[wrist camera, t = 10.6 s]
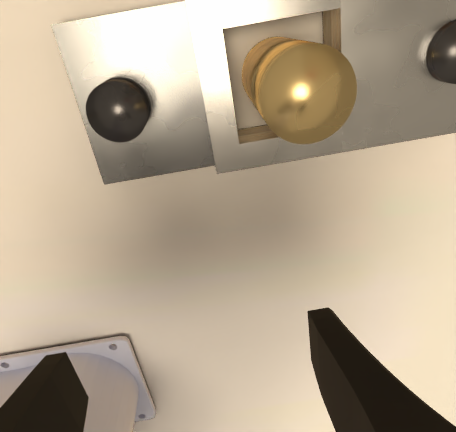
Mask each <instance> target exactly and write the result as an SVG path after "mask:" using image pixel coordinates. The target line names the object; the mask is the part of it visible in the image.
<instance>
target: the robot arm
mask: <svg viewBox="0 0 456 432" xmlns="http://www.w3.org/2000/svg"><path fill="white" fill-rule="evenodd" d="M308 323H309V336H310V349H311V361H312V364H313V368H314V371H315V375H316V379H317V382H318V385H319V389H320V392H321V395H322V398H323V401H324V403H325V406H326V408H327V411H328V413H329V416H330V418H331V421H332V423H333V426H334V428H335V431H336V432H456V427H455V426H454V425H453V424H451V423H450V422H449V421H447V420H446V419H445V418H444V417H442V416H441V415H440V414H439V413H437V412H436V411H435V410H433V409H432V408H431V407H430V406H428V405H427V404H426V403H425V402H424V401H422V400H421V399H420V398H419V397H418V396H416V395H415V394H414V393H413V392H412V391H411V390H409V389H408V388H407V387H406V386H405V385H404V384H403V383H402V382H401V381H399V380H398V379H397V378H396V377H395V376H394V375H393V374H392V373H391V372H390V371H389V370H387V369H386V368H385V367H384V366H383V365H382V364H381V363H380V362H379V361H378V360H377V359H376V358H375V357H374V356H373V355H372V354H371V353H370V352H369V351H368V350H367V349H366V348H365V347H364V346H363V345H362V344H361V343H360V342H359V341H358V339H357V338H356V337H355V336H354V335H353V334H352V333H351V332H350V331H349V330H348V328H347V327H346V326H345V325H344V324H343V323H342V322H341V320H340V319H339V318H338V317H337V316H336V314H335V313H334V312H333V311H332V310H331V309H330V308H323V309H317V310H311V311H308ZM112 344H115V345H112ZM5 362H6V363H5ZM155 415H156V409H155V406H154V403H153V401H152V398H151V396H150V393H149V390H148V388H147V385H146V382H145V380H144V377H143V375H142V372H141V369H140V367H139V364H138V361H137V359H136V356H135V354H134V351H133V348H132V346H131V343H130V340H129V339H128V338H127V337H125V336H116V337H110V338H105V339H99V340H93V341H87V342H81V343H75V344H69V345H63V346H57V347H51V348H46V349H40V350H34V351H28V352H22V353H16V354H10V355H4V356H0V432H133V427H134V422H136V421H142V420H148V419H152V418H154V417H155Z"/></svg>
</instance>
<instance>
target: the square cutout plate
mask: <svg viewBox="0 0 456 432" xmlns="http://www.w3.org/2000/svg"><path fill="white" fill-rule="evenodd" d="M321 11H322V14H323V43H324V44H325V45H328V46H331V47H333V48H335V49H337V50H338V51H339V52H341V53H342V54H343V55H344V56H345V57H346V58H347V59H348V61H349V62H350V64H351V66H352V68H353V70H354V73H355V76H356V81H357V95H356V100H355V104H354V107H353V110H352V112H351V114H350V116H349V117H348V119H347V120H346V122H345V123H344V124H343V126H342V127H341V128H340V129H339V130H338V131H336V132H335V133H334V134H333V135H331V136H330V137H328V138H326V139H324V140H322V141H319V142H316V143H312V144H296V143H291V142H288V141H286V140H284V139H282V138H280V137H279V136H277V135H276V134H275V133H274V132H273V131H272V130H271V129H270V128H269V126H268V125H262V126H256V127H251V128H245V129H239V130H237V125H236V118H235V111H234V105H233V98H232V91H231V84H230V77H229V71H228V64H227V57H226V50H225V43H224V36H223V30H222V29H225V28H231V27H236V26H242V25H248V24H253V23H259V22H265V21H270V20H276V19H281V18H287V17H293V16H298V15H304V14H310V13H315V12H321ZM51 27H52V30H53V33H54V36H55V39H56V42H57V45H58V48H59V51H60V54H61V57H62V60H63V63H64V66H65V69H66V72H67V75H68V78H69V81H70V84H71V87H72V90H73V93H74V96H75V99H76V102H77V104H78V107H79V110H80V113H81V116H82V119H83V122H84V125H85V128H86V131H87V134H88V137H89V140H90V143H91V146H92V149H93V152H94V155H95V158H96V161H97V164H98V167H99V170H100V173H101V176H102V179H103V182H104V184H110V183H116V182H121V181H127V180H133V179H139V178H145V177H150V176H156V175H162V174H168V173H173V172H179V171H185V170H191V169H196V168H202V167H208V166H214V165H216V171H217V174H220V173H225V172H231V171H237V170H243V169H248V168H254V167H260V166H266V165H271V164H277V163H283V162H289V161H295V160H300V159H306V158H312V157H318V156H323V155H329V154H335V153H341V152H346V151H352V150H358V149H364V148H370V147H375V146H381V145H387V144H393V143H398V142H404V141H410V140H416V139H422V138H427V137H433V136H439V135H445V134H450V133H456V0H186V1H181V2H175V3H170V4H164V5H158V6H153V7H147V8H142V9H136V10H130V11H125V12H119V13H113V14H108V15H102V16H97V17H91V18H85V19H80V20H74V21H68V22H63V23H57V24H52V25H51Z"/></svg>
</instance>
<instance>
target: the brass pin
mask: <svg viewBox="0 0 456 432" xmlns="http://www.w3.org/2000/svg"><path fill="white" fill-rule="evenodd" d="M242 83H243V87H244V89H245V92H246V93H247V95H248V97H249V98H250V99H251V101H252V102H253V104H254V105H255V107H256V108H257V110H258V111H259V113H260V114H261V116H262V117H263V119H264V120H265V122H266V123H267V125H268V126H269V128H270V129H271V130H272V131H273V132H274V133H275V134H276V135H277V136H279V137H280V138H282V139H284V140H286V141H288V142H291V143H296V144H312V143H316V142H319V141H322V140H324V139H326V138H328V137H330V136H331V135H333V134H334V133H335V132H336V131H338V130H339V129H340V128H341V127H342V126H343V124H344V123H345V122H346V120H347V119H348V117H349V116H350V114H351V112H352V110H353V107H354V104H355V100H356V95H357V81H356V76H355V73H354V70H353V68H352V66H351V64H350V62H349V61H348V59H347V58H346V57H345V56H344V55H343V54H342V53H341V52H339V51H338V50H337V49H335V48H333V47H331V46H328V45H325V44H320V43H314V42H308V41H303V40H297V39H291V38H285V37H271V38H267V39H265V40H263V41H261V42H259V43H258V44H256V45H255V46H254V47H253V48H252V49H251V50H250V52H249V53H248V55H247V56H246V59H245V61H244V64H243V68H242Z"/></svg>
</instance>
